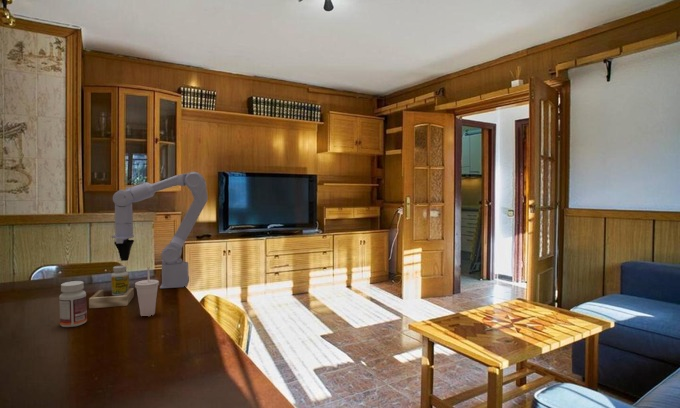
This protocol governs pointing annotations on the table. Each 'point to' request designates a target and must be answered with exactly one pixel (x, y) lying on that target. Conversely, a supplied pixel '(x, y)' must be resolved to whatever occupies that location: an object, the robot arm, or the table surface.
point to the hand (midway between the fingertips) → (124, 260)
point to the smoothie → (147, 295)
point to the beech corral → (110, 299)
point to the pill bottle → (72, 304)
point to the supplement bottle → (119, 280)
